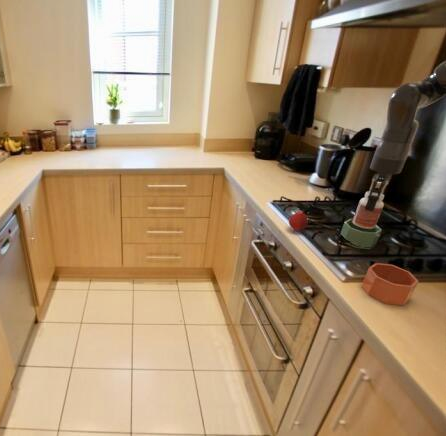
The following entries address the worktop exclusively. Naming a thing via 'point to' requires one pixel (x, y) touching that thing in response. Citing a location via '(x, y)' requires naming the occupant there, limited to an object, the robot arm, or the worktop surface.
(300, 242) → the worktop surface
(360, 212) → the pill bottle
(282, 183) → the worktop surface
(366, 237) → the green pot
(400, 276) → the terracotta pot
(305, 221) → the onion
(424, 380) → the worktop surface
